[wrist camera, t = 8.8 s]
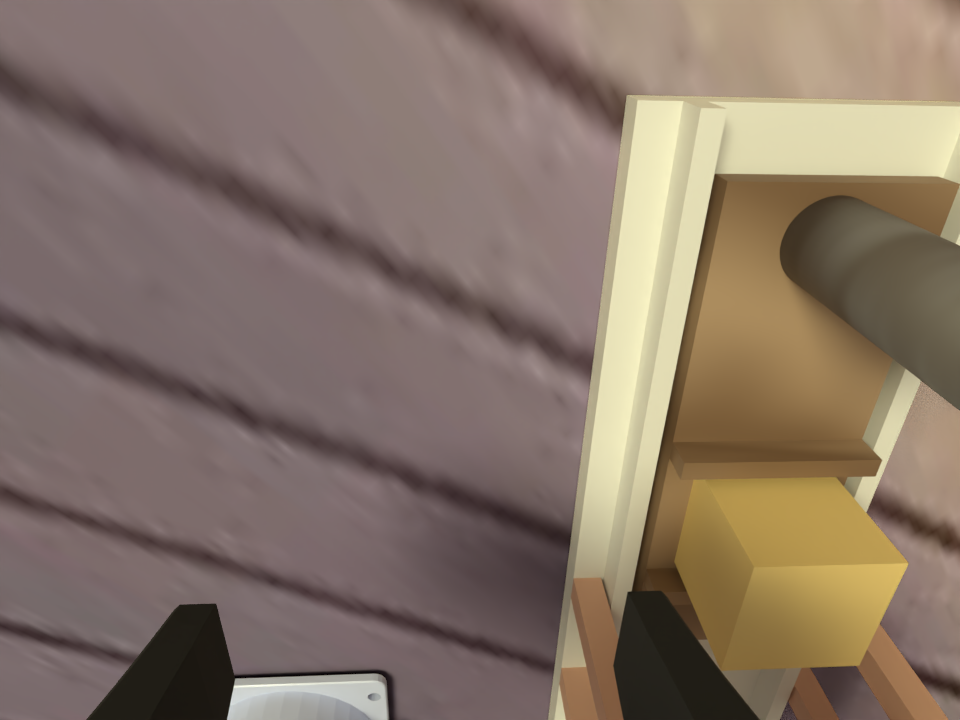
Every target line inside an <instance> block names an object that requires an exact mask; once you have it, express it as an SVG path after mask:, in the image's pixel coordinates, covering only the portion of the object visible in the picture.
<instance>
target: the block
mask: <svg viewBox="0 0 960 720" xmlns="http://www.w3.org/2000/svg"><path fill="white" fill-rule="evenodd" d="M674 562H675V564H676V567H677V569H678V572H679V574H680V576H681V579H682V581H683V583H684V586H685V588H686V590H687V593H688V595H689V597H690V600H691V602H692V604H693V607H694V609H695V611H696V614H697V616H698V619H699V621H700V623H701V626H702V628H703V630H704V633H705V635H706V637H707V640H708V642H709V644H710V647H711V649H712V651H713V654H714V656H715V658H716V661H717V663H718V665H719V668H720V670H721V671H732V670H758V669H785V668H811V667H838V666H859V665H860V663H861V661H862V659H863V657H864V655H865V653H866V651H867V649H868V646H869V644H870V642H871V640H872V638H873V636H874V634H875V632H876V630H877V628H878V626H879V624H880V622H881V620H882V617H883V615H884V613H885V611H886V609H887V607H888V605H889V603H890V601H891V599H892V597H893V595H894V593H895V591H896V588H897V586H898V584H899V582H900V580H901V578H902V576H903V574H904V572H905V570H906V568H907V566H908V564H909V563H908V562H907V561H906V559H905V558H904V557H903V556H902V555H901V553H900V552H899V551H898V550H897V549H896V548H895V546H894V545H893V544H892V543H891V542H890V540H889V539H888V538H887V537H886V536H885V535H884V533H883V532H882V531H881V530H880V529H879V527H878V526H877V525H876V524H875V523H874V522H873V520H872V519H871V518H870V517H869V516H868V514H867V513H866V512H865V511H864V510H863V508H862V507H861V506H860V505H859V504H858V503H857V501H856V500H855V499H854V498H853V497H852V495H851V494H850V493H849V492H848V491H847V490H846V488H845V487H844V486H843V485H842V484H841V482H840V481H839V480H838V479H837V478H836V477H821V478H766V479H712V480H694V481H693V485H692V489H691V493H690V497H689V502H688V506H687V510H686V514H685V519H684V523H683V527H682V531H681V535H680V540H679V544H678V548H677V552H676V556H675V561H674Z"/></svg>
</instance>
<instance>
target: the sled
mask: <svg viewBox="0 0 960 720" xmlns="http://www.w3.org/2000/svg"><path fill="white" fill-rule="evenodd" d="M959 186H960V184H959V183H956V182H953V181H950V180H947V179H944V178H941V177H938V176H867V175H786V174H715V175H714V180H713V185H712V190H711V195H710V201H709V206H708V211H707V216H706V221H705V226H704V231H703V236H702V241H701V246H700V251H699V256H698V261H697V266H696V271H695V276H694V281H693V286H692V291H691V296H690V301H689V306H688V311H687V316H686V321H685V326H684V331H683V336H682V341H681V346H680V351H679V356H678V361H677V366H676V371H675V376H674V381H673V386H672V391H671V396H670V401H669V406H668V411H667V416H666V421H665V426H664V431H663V437H662V442H661V447H660V452H659V457H658V462H657V467H656V472H655V477H654V482H653V487H652V492H651V497H650V502H649V507H648V512H647V517H646V522H645V527H644V532H643V537H642V542H641V547H640V552H639V557H638V562H637V567H636V572H635V577H634V582H633V587H632V591H662V592H663V593H664V594H665V595H666V596H667V598H668V599H669V600H670V602H671V603H672V605H673V606H674V608H675V609H676V610H677V612H678V613H679V615H680V616H681V618H682V619H683V620H684V622H685V623H686V625H687V626H688V627H689V629H690V630H691V631H692V633H693V634H694V636H695V637H696V638H697V640H707V637H706V635H705V633H704V630H703V628H702V626H701V623H700V621H699V619H698V616H697V614H696V611H695V609H694V607H693V604H692V602H691V600H690V597H689V595H688V593H687V590H686V588H685V586H684V583H683V581H682V579H681V576H680V574H679V572H678V569H677V567H676V564H675V562H674V561H675V556H676V552H677V548H678V544H679V540H680V535H681V531H682V527H683V523H684V519H685V514H686V510H687V506H688V502H689V497H690V493H691V489H692V485H693V481H694V480H712V479H766V478H821V477H836V478H837V479H838V480H839V481H840V482H841V484H842V485H843V486H844V485H845V483H846V480H847V477H875V476H876V474H877V472H878V469H879V467H880V465H881V462H882V459H881V458H880V457H879V456H878V455H877V454H876V453H875V452H874V451H873V450H872V449H871V448H870V447H869V446H868V445H867V444H866V443H865V442H864V441H863V440H862V438H863V436H864V433H865V431H866V428H867V425H868V423H869V420H870V418H871V415H872V412H873V410H874V407H875V405H876V402H877V399H878V397H879V394H880V392H881V389H882V386H883V384H884V381H885V379H886V376H887V373H888V371H889V368H890V366H891V363H892V360H893V359H894V360H895V361H896V362H898V363H899V364H900V365H902V366H903V367H904V368H905V369H907V370H908V371H909V372H911V373H912V374H913V375H915V376H916V377H917V378H918V379H920V380H921V381H922V382H924V383H925V384H926V385H927V386H929V387H930V388H931V389H933V390H934V391H935V392H936V393H938V394H939V395H940V396H942V397H943V398H944V399H945V400H947V401H948V402H949V403H951V404H952V405H953V406H954V407H956V408H957V409H958V410H960V246H959V245H957V244H955V243H953V242H951V241H949V240H946V239H944V238H942V237H940V236H941V233H942V230H943V228H944V225H945V223H946V220H947V217H948V215H949V212H950V210H951V207H952V204H953V202H954V199H955V197H956V194H957V191H958V189H959Z"/></svg>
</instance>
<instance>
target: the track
mask: <svg viewBox="0 0 960 720" xmlns="http://www.w3.org/2000/svg"><path fill="white" fill-rule="evenodd" d="M715 174H786V175H867V176H938V177H941V178H944V179H947V180H950V181H953V182H956V183H959V184H960V102H948V101H898V100H849V99H799V98H749V97H699V96H649V95H627V98H626V106H625V114H624V122H623V130H622V138H621V146H620V154H619V162H618V169H617V177H616V185H615V193H614V201H613V209H612V217H611V225H610V233H609V241H608V249H607V256H606V264H605V272H604V280H603V288H602V296H601V304H600V312H599V320H598V328H597V336H596V344H595V351H594V359H593V367H592V375H591V383H590V391H589V399H588V407H587V415H586V423H585V431H584V439H583V446H582V454H581V462H580V470H579V478H578V486H577V494H576V502H575V510H574V518H573V526H572V533H571V541H570V549H569V557H568V565H567V573H566V581H565V589H564V597H563V605H562V613H561V621H560V628H559V636H558V644H557V652H556V660H555V668H554V676H553V684H552V692H551V700H550V708H549V715H548V720H623V715H622V710H621V705H620V700H619V695H618V689H617V684H616V678H615V673H614V667H613V664H614V659H615V654H616V649H617V643H618V638H619V633H620V628H621V623H622V618H623V613H624V607H625V602H626V597H627V592H630V591H632V587H633V582H634V577H635V572H636V567H637V562H638V557H639V552H640V547H641V542H642V537H643V532H644V527H645V522H646V517H647V512H648V507H649V502H650V497H651V492H652V487H653V482H654V477H655V472H656V467H657V462H658V457H659V452H660V447H661V442H662V437H663V431H664V426H665V421H666V416H667V411H668V406H669V401H670V396H671V391H672V386H673V381H674V376H675V371H676V366H677V361H678V356H679V351H680V346H681V341H682V336H683V331H684V326H685V321H686V316H687V311H688V306H689V301H690V296H691V291H692V286H693V281H694V276H695V271H696V266H697V261H698V256H699V251H700V246H701V241H702V236H703V231H704V226H705V221H706V216H707V211H708V206H709V201H710V195H711V190H712V185H713V180H714V175H715ZM940 237H942V238H944V239H946V240H949V241H951V242H953V243H955V244H957V245H959V246H960V186H959V189H958V191H957V194H956V197H955V199H954V202H953V204H952V207H951V210H950V212H949V215H948V217H947V220H946V223H945V225H944V228H943V230H942V233H941V236H940ZM920 382H921V380H920V379H918V378H917V377H916V376H915V375H913V374H912V373H911V372H909V371H908V370H907V369H905V368H904V367H903V366H902V365H900V364H899V363H898V362H896V361H895V360H894V359H893V360H892V363H891V366H890V368H889V371H888V373H887V376H886V379H885V381H884V384H883V386H882V389H881V392H880V394H879V397H878V399H877V402H876V405H875V407H874V410H873V412H872V415H871V418H870V420H869V423H868V425H867V428H866V431H865V433H864V436H863V438H862V440H863V441H864V442H865V443H866V444H867V445H868V446H869V447H870V448H871V449H872V450H873V451H874V452H875V453H876V454H877V455H878V456H879V457H880V458H881V459H882V462H881V465H880V467H879V469H878V472H877V474H876V476H875V477H847V480H846V483H845V485H844V487H845V488H846V490H847V491H848V492H849V493H850V494H851V495H852V497H853V498H854V499H855V500H856V501H857V503H858V504H859V505H860V506H861V507H862V508H863V510H864V511H865V512H867V510H868V507H869V505H870V502H871V500H872V498H873V495H874V493H875V490H876V488H877V486H878V483H879V481H880V478H881V476H882V474H883V471H884V469H885V466H886V464H887V462H888V459H889V457H890V454H891V452H892V450H893V447H894V445H895V442H896V440H897V438H898V435H899V433H900V430H901V428H902V426H903V423H904V421H905V418H906V416H907V414H908V411H909V409H910V406H911V404H912V402H913V399H914V397H915V394H916V392H917V390H918V387H919V385H920ZM698 641H699V642H700V644H701V645H702V646H703V648H704V649H705V650H706V652H707V653H708V655H709V656H710V657H711V659H712V660H713V661H714V663H715V664H716V665H717V666H718V668H719V665H718V663H717V661H716V658H715V656H714V654H713V651H712V649H711V647H710V644H709V642H708V640H698ZM856 667H857V668H858V670H859V671H860V673H861V675H862V676H863V678H864V679H865V681H866V682H867V684H868V686H869V687H870V689H871V690H872V692H873V693H874V695H875V697H876V698H877V700H878V701H879V703H880V705H881V706H882V708H883V709H884V711H885V712H886V714H887V716H888V717H889V719H890V720H948V718H947V717H946V716H945V714H944V713H943V711H942V710H941V709H940V707H939V706H938V704H937V703H936V702H935V700H934V699H933V697H932V696H931V695H930V693H929V692H928V690H927V689H926V688H925V686H924V685H923V683H922V682H921V681H920V679H919V678H918V676H917V675H916V674H915V672H914V671H913V669H912V668H911V667H910V665H909V664H908V662H907V661H906V660H905V658H904V657H903V655H902V654H901V653H900V651H899V650H898V648H897V647H896V646H895V644H894V643H893V641H892V640H891V639H890V637H889V636H888V634H887V633H886V632H885V630H884V629H883V628H882V626H881V625H880V624H879V626H878V628H877V630H876V632H875V634H874V636H873V638H872V640H871V642H870V644H869V646H868V649H867V651H866V653H865V655H864V657H863V659H862V661H861V663H860V665H859V666H856ZM719 669H720V668H719ZM721 672H722V673H723V674H724V676H725V677H726V678H727V679H728V681H729V682H730V683H731V684H732V686H733V687H734V688H735V689H736V691H737V692H738V693H739V694H740V696H741V697H742V698H743V699H744V701H745V702H746V703H747V704H748V706H749V707H750V708H751V709H752V711H753V712H754V713H755V714H756V716H757V717H758V718H759V719H760V720H780V718H781V716H782V713H783V711H784V709H785V706H786V704H787V701H788V702H789V704H790V706H791V708H792V710H793V712H794V714H795V716H796V718H797V720H839V718H838V716H837V715H836V713H835V711H834V709H833V707H832V706H831V704H830V702H829V700H828V699H827V697H826V695H825V693H824V691H823V690H822V688H821V686H820V684H819V683H818V681H817V679H816V677H815V675H814V674H813V672H812V670H811V668H785V669H758V670H732V671H721Z"/></svg>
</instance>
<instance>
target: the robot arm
mask: <svg viewBox="0 0 960 720" xmlns="http://www.w3.org/2000/svg"><path fill="white" fill-rule="evenodd" d="M613 667H614V673H615V678H616V684H617V689H618V695H619V700H620V705H621V710H622V715H623V720H760V719H759V718H758V717H757V716H756V714H755V713H754V712H753V711H752V709H751V708H750V707H749V706H748V704H747V703H746V702H745V701H744V699H743V698H742V697H741V696H740V694H739V693H738V692H737V691H736V689H735V688H734V687H733V686H732V684H731V683H730V682H729V681H728V679H727V678H726V677H725V676H724V674H723V673H722V672H721V670H720V669H719V668H718V666H717V665H716V664H715V663H714V661H713V660H712V659H711V657H710V656H709V655H708V653H707V652H706V650H705V649H704V648H703V646H702V645H701V644H700V642H699V641H698V640H697V638H696V637H695V636H694V634H693V633H692V631H691V630H690V629H689V627H688V626H687V625H686V623H685V622H684V620H683V619H682V618H681V616H680V615H679V613H678V612H677V610H676V609H675V608H674V606H673V605H672V603H671V602H670V600H669V599H668V598H667V596H666V595H665V594H664V593H663V592H662V591H630V592H627V597H626V602H625V607H624V613H623V618H622V623H621V628H620V633H619V638H618V643H617V649H616V654H615V659H614V664H613ZM87 720H389V708H388V694H387V681H386V678H385V677H383V676H382V675H380V674H375V673H371V674H344V675H317V676H290V677H262V678H235V677H234V673H233V669H232V665H231V661H230V657H229V653H228V649H227V645H226V641H225V637H224V633H223V629H222V625H221V621H220V617H219V613H218V609H217V605H216V604H189V605H179V606H178V607H177V608H176V609H175V610H174V611H173V612H172V613H171V615H170V616H169V617H168V619H167V620H166V621H165V623H164V624H163V625H162V626H161V628H160V629H159V630H158V632H157V633H156V634H155V635H154V637H153V638H152V639H151V641H150V642H149V643H148V644H147V646H146V647H145V648H144V650H143V651H142V652H141V653H140V655H139V656H138V657H137V659H136V660H135V661H134V662H133V664H132V665H131V666H130V667H129V669H128V670H127V671H126V672H125V674H124V675H123V676H122V677H121V679H120V680H119V681H118V682H117V684H116V685H115V686H114V687H113V688H112V690H111V691H110V692H109V693H108V694H107V696H106V697H105V698H104V699H103V700H102V702H101V703H100V704H99V705H98V706H97V708H96V709H95V710H94V711H93V712H92V714H91V715H90V716H89V717H88V718H87Z"/></svg>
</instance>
